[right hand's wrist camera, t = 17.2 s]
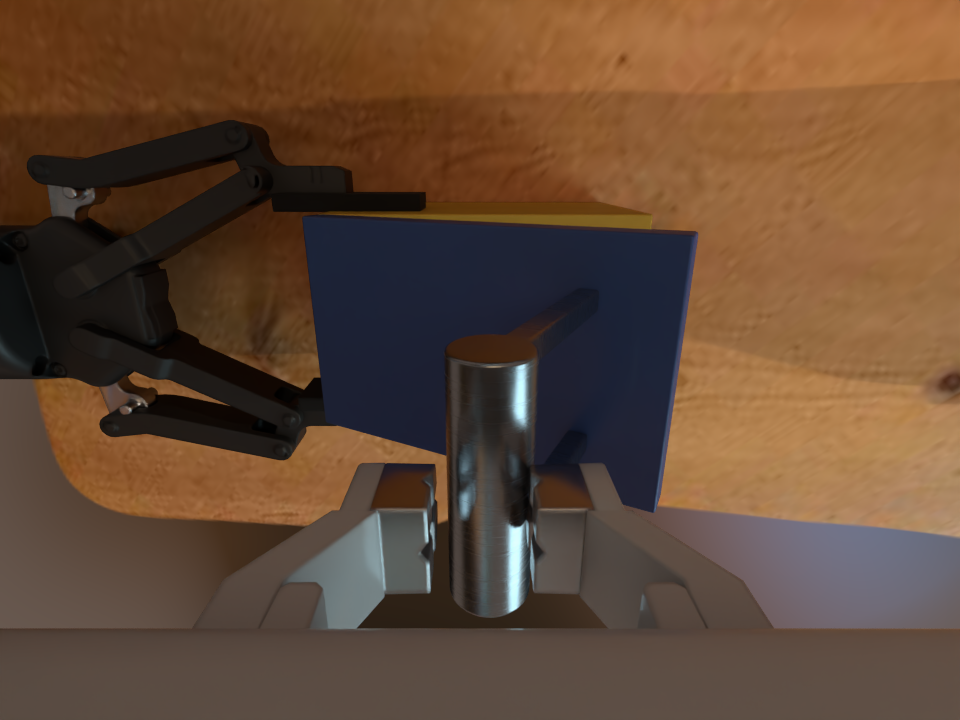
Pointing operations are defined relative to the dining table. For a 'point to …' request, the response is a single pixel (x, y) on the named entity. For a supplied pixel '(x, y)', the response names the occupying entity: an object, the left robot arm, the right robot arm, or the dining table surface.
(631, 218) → the chest
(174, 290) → the dining table surface
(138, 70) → the dining table surface
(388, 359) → the lid
